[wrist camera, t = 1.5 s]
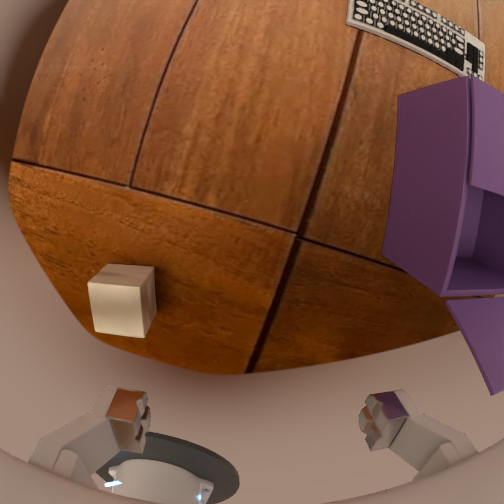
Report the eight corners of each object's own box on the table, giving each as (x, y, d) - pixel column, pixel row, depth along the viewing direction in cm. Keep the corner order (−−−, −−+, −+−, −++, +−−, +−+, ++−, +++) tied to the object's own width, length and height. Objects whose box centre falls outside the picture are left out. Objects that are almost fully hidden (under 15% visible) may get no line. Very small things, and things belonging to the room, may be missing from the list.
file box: (470, 260, 27) (532, 295, 17) (381, 254, 26) (445, 301, 16) (487, 131, 22) (555, 133, 13) (397, 95, 21) (472, 73, 12)
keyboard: (345, 24, 19) (351, 18, 18) (348, -20, 17) (353, -28, 16) (480, 89, 21) (489, 88, 19) (477, 45, 19) (486, 43, 18)
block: (156, 312, 26) (144, 338, 22) (112, 307, 26) (94, 332, 21) (154, 266, 25) (139, 287, 20) (107, 262, 24) (86, 282, 20)
